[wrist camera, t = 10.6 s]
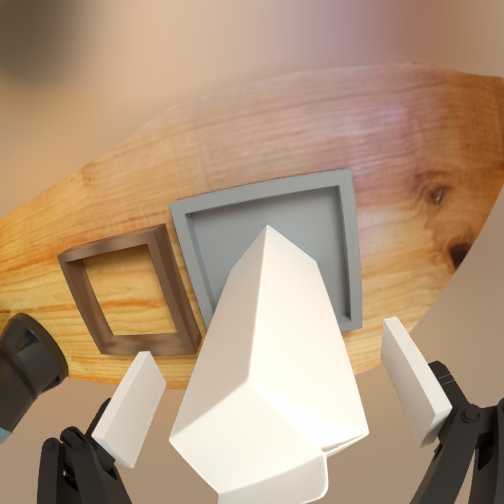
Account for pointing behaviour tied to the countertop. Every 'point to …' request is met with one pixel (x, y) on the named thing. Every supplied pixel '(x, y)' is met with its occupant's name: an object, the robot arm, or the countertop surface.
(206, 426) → the milk
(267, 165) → the countertop surface
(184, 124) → the countertop surface
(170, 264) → the frame
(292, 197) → the tray
